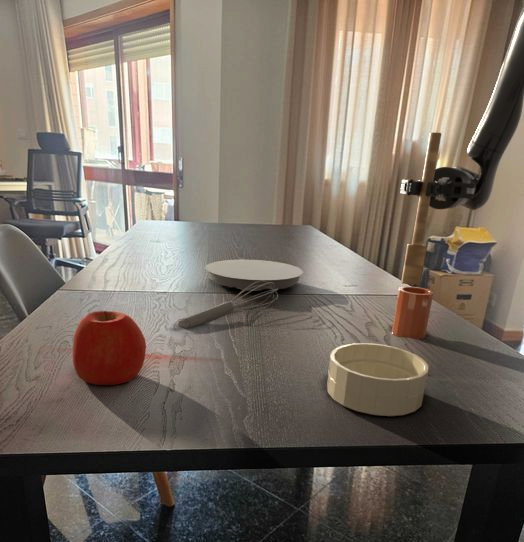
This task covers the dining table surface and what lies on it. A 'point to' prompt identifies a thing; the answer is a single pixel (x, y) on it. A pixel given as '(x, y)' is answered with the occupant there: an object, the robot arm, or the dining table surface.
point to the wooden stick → (421, 218)
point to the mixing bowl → (377, 379)
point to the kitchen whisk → (218, 311)
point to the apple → (108, 348)
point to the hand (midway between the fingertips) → (421, 188)
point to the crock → (412, 312)
